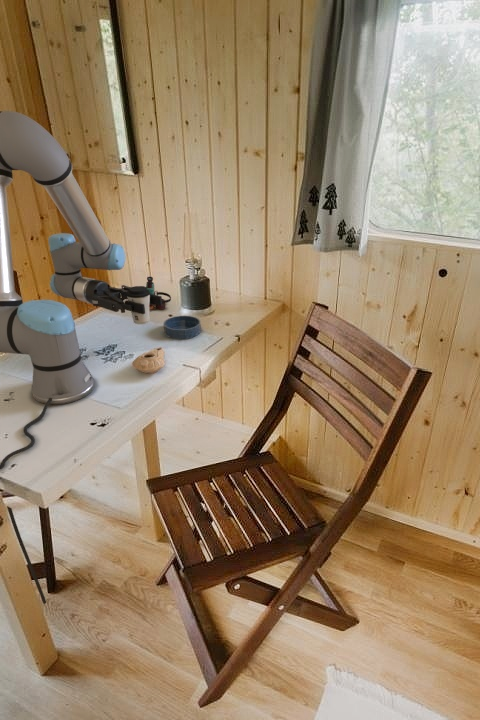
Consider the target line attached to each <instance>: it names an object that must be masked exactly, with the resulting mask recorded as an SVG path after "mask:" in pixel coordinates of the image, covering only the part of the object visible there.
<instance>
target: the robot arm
mask: <svg viewBox="0 0 480 720" xmlns="http://www.w3.org/2000/svg"><path fill="white" fill-rule="evenodd" d="M13 171H22V172H25V173H27V174H29V175H30V176H31V177H32V179H33V180H34V182H35V183H36V184H38V185H39V186H42V187H43V188H44V189H45V191H46V193H47V194H48V196H49V197H50V198H51V200H52V202H53V204H55V206H56V208H57V209H58V212H60V214H61V216H62V217H63V219H64V220H65V221H66V223H67V225H68V226H69V228H70V230H71V231H72V232H73V234H72V233H67V232H61V233H55V234H52V235H50V236H49V237H48V240H47V241H48V247H49V253H50V258H51V261H52V266H53V269H54V273H53V274H51V277H50V282H49V288H50V290H51V291H52V292H53V293H54V294H55V295H56V296H59V297H62V298H64V299H70V300H76V301H79V302H83V303H87V305H92V307H97V308H102V309H105V310H109V311H112V312H114V313H118V312H119V311H120V313H121V314H124V313H126V311H129V312H131V311H132V312H136V313H140V314H145V307H144V304H141V303H136V302H132V301H128V298H127V296H126V292H127V291H128V290H129V288H131V287H132V286H128V285H125V284H123V285H121V287H119V288H118V287H115V286H114V287H113V286H110V284H109V283H108V282H107V281H105V280H101V279H96V278H92V277H87V276H82V269H90V270H102V271H103V270H104V271H119V270H122V269H123V268H124V266H125V263H126V252H125V249H124V247H123V246H122V245H121V244H119V243H118V244H117V243H115V242H114V243H111V240H110V239H109V237H108V236H107V233H106V232H105V230H104V228H103V227H102V225H101V223H100V221H99V219H98V217H97V216H96V214H95V212H94V211H93V209H92V206H91V205H90V203H89V201H88V199H87V198H86V196H85V194H84V192H83V190H82V188H81V186H80V185H79V183H78V181H77V179H76V178H75V176H74V173H73V164H72V162H71V160H70V158H69V156H68V154H67V153H66V151H65V150H64V148H63V147H62V145H61V144H60V142H58V141H57V139H56V138H55V137H54V135H52V134H51V133H50V132H49V131H48V130H47V129H46V128H44V127H43V125H41V124H40V123H38V122H37V121H35V120H34V119H33V118H31V117H29V116H27V115H26V114H23V113H20V112H18V111H14V110H3V111H2V110H0V353H4V354H5V353H6V354H15V355H26V356H27V355H28V356H29V358H30V360H31V364H32V368H33V369H32V383H31V393H32V396H33V398H34V400H35V401H37V402H38V403H40V404H45V405H44V406H43V408H42V411H41V413H40V414H39V416H37V417H36V418H35V419H33V420H32V421H29V422H28V423H27V424H26V425H24V427H23V429H22V431H23V434H24V435H25V436H26V437H27V438H29V439H30V443H28V445H26V446H23V447H21V448H19V449H16V450H13V451H11V452H10V453H9V454H7V455H5V457H4V458H3V459H2V460H1V462H0V470H3V468H4V467H5V464H6V463H7V461H8V460H9V459H10V458H12V457H13V456H15V455H18V454H20V453H22V452H26V451H27V450H29V449H31V448H32V447H33V446H34V444H35V442H36V439H35V437H34V435H33V434H31V433H30V432H28V429H29V427H31V426H33V425H34V424H36V423H38V422H39V421H41V419H43V417H44V416H45V415H46V412H47V410H48V408H49V406H50V405H52V406H53V405H54V406H55V405H57V406H58V405H66V404H70V403H73V402H76V401H79V400H82V399H84V398H85V397H87V396H88V395H90V394H91V393H92V392H93V390H95V381H94V377H93V375H92V373H91V372H90V370H89V368H88V367H87V366H86V364H85V362H84V361H83V359H82V354H81V350H80V345H79V341H78V335H77V331H76V323H75V320H74V318H73V315H72V312H71V310H70V308H69V307H68V306H67V305H66V304H64V303H63V302H60V301H56V300H51V299H39V300H36V299H32V300H27V301H25V302H23V297H21V296H20V295H19V294H18V293H17V292H16V289H15V277H14V276H15V275H14V266H13V254H12V253H13V252H12V241H11V230H10V229H11V228H10V218H9V216H10V215H9V204H8V192H7V188H8V187H9V186H10V185H11V184H12V183H13V181H14V177H13V176H14V175H13ZM75 237H76V238H75ZM76 239H77V240H78V241H76ZM162 296H163V295H156V294H155V295H153V294H150V304H153V305H154V306H156V305H159V306H162V299H163V297H162ZM6 508H7V511H8V515H9V518H10V522H11V524H12V527H13V531H14V533H15V536H16V539H17V541H18V543H19V544H18V545H19V546H20V549H21V551H22V554H23V556H24V559H25V561H26V564H27V566H28V568H29V571H30V574H31V576H32V578H33V580H34V583H35V585H36V588H37V591H38V593H39V596H40V598H41V601H42V604H43V605H45V604H47V600H46V597H45V594H44V591H43V588H42V586H41V584H40V581H39V579H38V577H37V573H36V571H35V569H34V566H33V564H32V561H31V559H30V557H29V554H28V552H27V551H28V550H27V549H26V546H25V544H24V541H23V539H22V536H21V533H20V531H19V528H18V524H17V522H16V519H15V515H14V512H13V509H12V507H10V506H8V505H6Z"/></svg>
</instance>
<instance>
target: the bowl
mask: <svg viewBox="0 0 480 720" xmlns="http://www.w3.org/2000/svg"><path fill="white" fill-rule="evenodd" d="M201 325H202V324H201V320H200V318H198V317H195V316H192V315H177V316H171V317H169V318H167V319H165V320H164V321H163V332H164V334H165V336H167V337H169V338H171V339H174V340H188V339H193V338H195V337H197V336H198V335H200V333H202V326H201Z"/></svg>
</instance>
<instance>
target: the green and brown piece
mask: <svg viewBox="0 0 480 720" xmlns="http://www.w3.org/2000/svg"><path fill="white" fill-rule="evenodd" d="M153 280H154V277H152V276H147V277H146V284H145V287H146V288H147V289H148V290H149V291H150V294H153V295H158V296H166V297H168V299H164V298H162V306H159V305H154V304H150V310H153V309H158V310H166V307H167V305H166V304H168V303H169V302H171V301H172V297H171V295H170V294H169V293H167V292H164V291H158V290H155V283H154V282H153Z"/></svg>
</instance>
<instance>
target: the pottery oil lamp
mask: <svg viewBox="0 0 480 720" xmlns="http://www.w3.org/2000/svg"><path fill="white" fill-rule="evenodd" d="M131 365H132V367H133V368H134V369H135V370H136V371H139V372H141V373H146V374H149V375H152V374H156V373H158V372H159V371H160V370H161V369H163V368H164V367H165V366H166V360H165V350H164V348H163V347H154V348H153V349H151V350H148V351H146V352H143V353H141V354H140V355H138V356H137V357H136V358H135V359H134V360H133V361H132V364H131Z"/></svg>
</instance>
